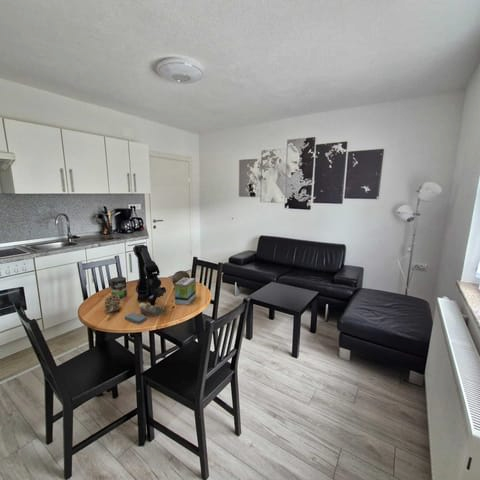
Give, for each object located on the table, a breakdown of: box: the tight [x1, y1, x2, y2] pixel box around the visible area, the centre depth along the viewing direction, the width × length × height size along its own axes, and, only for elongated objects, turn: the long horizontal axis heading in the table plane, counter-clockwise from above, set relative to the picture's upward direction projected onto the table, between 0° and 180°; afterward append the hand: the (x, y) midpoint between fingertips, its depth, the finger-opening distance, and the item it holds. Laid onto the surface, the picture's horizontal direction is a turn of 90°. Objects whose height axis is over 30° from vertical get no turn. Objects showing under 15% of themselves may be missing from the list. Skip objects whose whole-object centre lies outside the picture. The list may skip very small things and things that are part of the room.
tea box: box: [174, 277, 197, 306], centre depth 179 cm, size 15×10×15 cm
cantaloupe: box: [171, 270, 191, 287], centre depth 200 cm, size 14×14×15 cm
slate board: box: [124, 303, 165, 325], centre depth 158 cm, size 20×12×2 cm, turn 151°
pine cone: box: [104, 294, 122, 314], centre depth 160 cm, size 22×10×10 cm, turn 21°
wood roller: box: [138, 302, 156, 313], centre depth 159 cm, size 4×11×4 cm
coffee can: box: [109, 276, 128, 301], centre depth 183 cm, size 10×10×14 cm
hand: (152, 306), depth 163 cm, fingers closed
